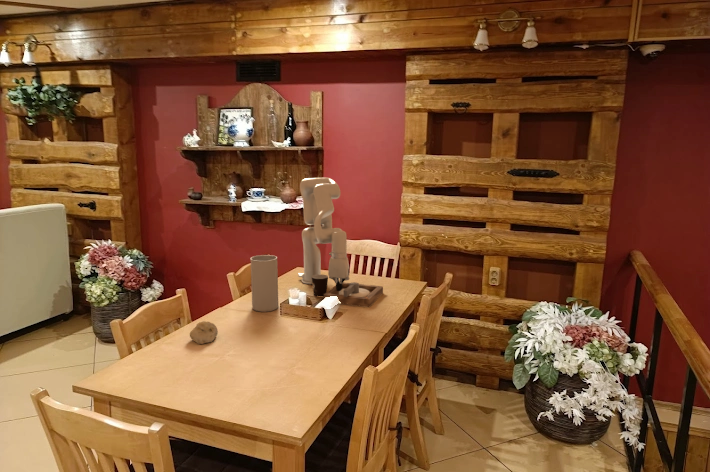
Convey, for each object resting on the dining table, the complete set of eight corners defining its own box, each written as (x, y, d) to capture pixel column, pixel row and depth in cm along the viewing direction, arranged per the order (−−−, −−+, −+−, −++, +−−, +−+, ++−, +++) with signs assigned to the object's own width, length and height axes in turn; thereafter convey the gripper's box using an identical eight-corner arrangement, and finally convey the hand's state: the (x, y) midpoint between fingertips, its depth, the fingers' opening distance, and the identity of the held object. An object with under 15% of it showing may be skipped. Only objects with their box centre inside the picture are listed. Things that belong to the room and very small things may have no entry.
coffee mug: (327, 297, 261) (327, 278, 259) (311, 297, 261) (310, 278, 259) (329, 290, 272) (329, 273, 271) (313, 290, 273) (313, 272, 271)
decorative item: (193, 324, 211) (214, 315, 210) (202, 343, 211) (223, 334, 211) (181, 331, 199) (203, 321, 198) (190, 351, 199) (213, 341, 199)
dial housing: (323, 302, 253) (323, 294, 253) (340, 289, 276) (340, 281, 275) (369, 307, 245) (369, 299, 245) (382, 293, 268) (383, 285, 267)
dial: (345, 288, 270) (345, 278, 269) (373, 291, 265) (373, 281, 264) (330, 300, 251) (330, 289, 250) (360, 303, 246) (360, 292, 244)
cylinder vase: (246, 309, 242) (244, 259, 237) (263, 302, 252) (261, 254, 248) (267, 314, 236) (266, 262, 231) (283, 306, 247) (282, 256, 242)
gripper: (322, 255, 252) (322, 290, 255) (350, 258, 247) (350, 293, 251) (328, 252, 259) (328, 287, 262) (355, 254, 254) (355, 289, 257)
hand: (339, 290), depth 256 cm, fingers closed
